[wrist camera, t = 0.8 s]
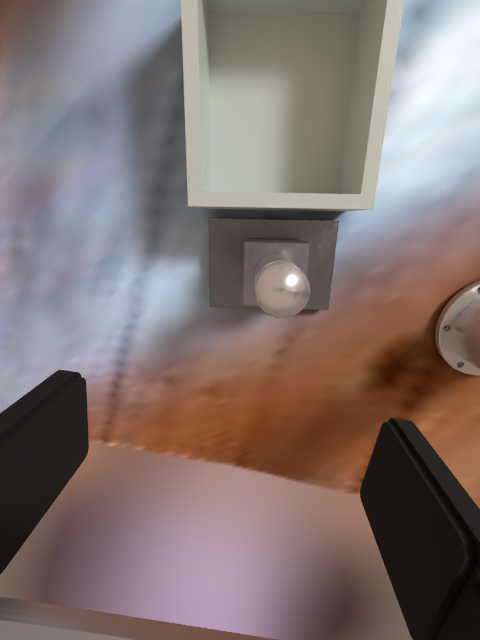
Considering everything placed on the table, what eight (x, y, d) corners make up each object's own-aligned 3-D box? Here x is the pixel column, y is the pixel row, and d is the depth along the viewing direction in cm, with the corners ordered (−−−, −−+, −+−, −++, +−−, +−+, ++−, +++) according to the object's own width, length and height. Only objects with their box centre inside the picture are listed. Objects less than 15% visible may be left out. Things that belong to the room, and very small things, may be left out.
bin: (370, 3, 28) (415, -77, 20) (345, 211, 33) (373, 209, 26) (197, 3, 28) (178, -76, 21) (201, 208, 34) (187, 206, 26)
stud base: (335, 220, 34) (353, 221, 28) (325, 306, 37) (339, 323, 31) (210, 218, 34) (202, 218, 28) (211, 303, 37) (204, 319, 31)
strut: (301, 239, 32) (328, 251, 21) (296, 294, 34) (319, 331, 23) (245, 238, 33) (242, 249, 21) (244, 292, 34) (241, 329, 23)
